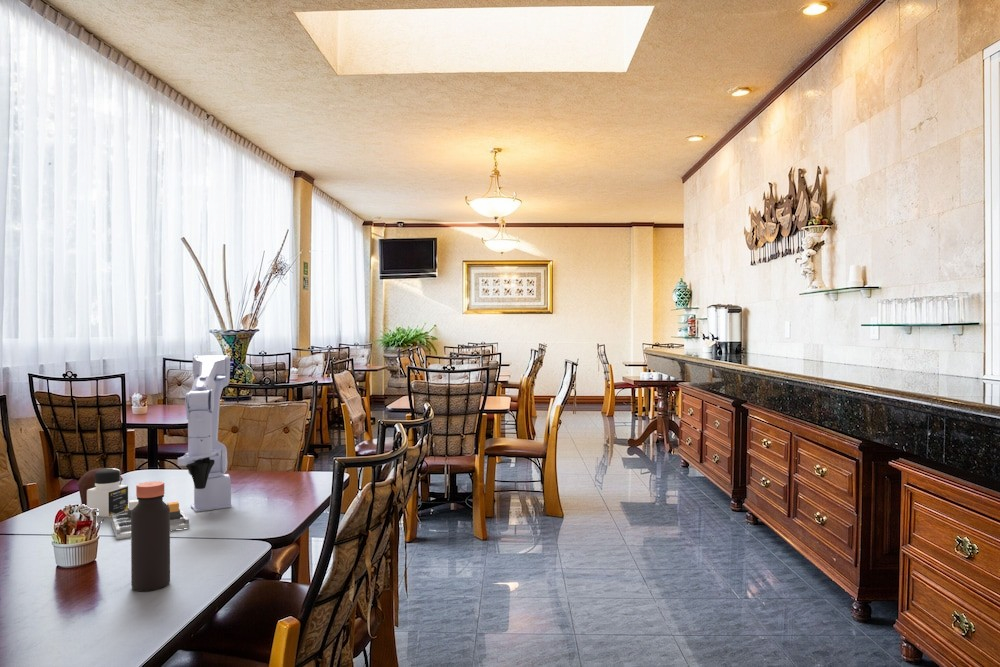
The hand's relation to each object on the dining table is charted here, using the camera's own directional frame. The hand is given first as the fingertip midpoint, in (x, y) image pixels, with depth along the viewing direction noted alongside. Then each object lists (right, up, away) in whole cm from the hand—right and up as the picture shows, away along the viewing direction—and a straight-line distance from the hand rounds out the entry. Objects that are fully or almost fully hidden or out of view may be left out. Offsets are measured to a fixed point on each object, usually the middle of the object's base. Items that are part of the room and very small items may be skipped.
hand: (200, 488), depth 178 cm
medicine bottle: (-29, -9, +8) cm, 32 cm away
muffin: (-37, -9, +19) cm, 42 cm away
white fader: (-16, -7, -1) cm, 18 cm away
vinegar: (+10, -9, -44) cm, 46 cm away
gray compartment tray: (-12, -9, -3) cm, 15 cm away
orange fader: (-5, -7, -4) cm, 10 cm away
